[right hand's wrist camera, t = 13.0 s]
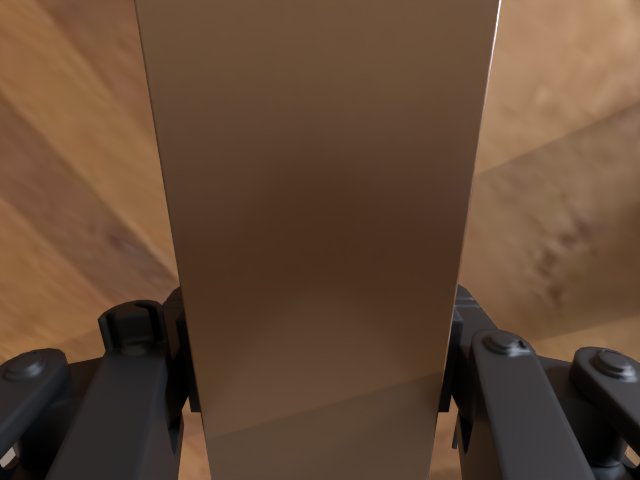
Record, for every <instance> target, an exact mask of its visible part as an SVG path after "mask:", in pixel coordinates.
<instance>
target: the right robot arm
mask: <svg viewBox="0 0 640 480" xmlns="http://www.w3.org/2000/svg"><path fill="white" fill-rule="evenodd" d="M98 323H99V327H100V331H101V334H102V338H103V342H104V346H105V350H106V351H105V353H104V355H103V357H100V358H96V359H91V360H87V361H82V362H77V363H72V364H68V363H67V359H66V356H65V353H63V352H62V351H61V350H59V349H52V348H47V349H38V350H32V351H30V352H25V353H22V354H20V355H19V356H17V357H15V358H12V359H10V360H8V361H6V362H5V363H3V364H2V365H0V460H1V458H2V457H3V456H4V455H5V454H6V453H7V452H8V451H9V449H10V448H11V447H13V449H14V452H15V454H16V456H15V457H14V458H13V459H12V460H11V461H10V463H8V464H7V465H6V466H5V467H4V468H3V467H2V466H1V464H0V480H178V473H179V465H180V456H181V448H182V439H183V431H184V421H183V415H182V409H183V406H184V404H185V402H186V400H187V397H188V396H189V402H190V408H191V412H201V411H200V405H199V399H198V392H197V386H196V380H195V374H194V368H193V362H192V355H191V349H190V343H189V337H188V331H187V325H186V318H185V312H184V306H183V300H182V294H181V287H178V288H177V289H175V290H174V291H173V292H172V293H171V294H170V296H169V297H168V298H167V301H165V302H164V303H163V304H162V305H161V304H160V303H158V302H157V301H152V300H135V301H130V302H126V303H123V304H120V305H117V306H115V307H112V308H111V309H109V310H107V311H106V312H104V313H103V314H102V315H101V316H100V317H99V318H98ZM451 395H452V396H453V398H454V401H455V403H456V405H457V407H458V409H459V410H458V415H457V421H456V426H455V432H454V437H453V443H452V448H453V449H457V444H458V447H459V455H460V464H461V472H462V480H640V464H639V465H638V466H636V465H635V464H634V463H632V462H631V461H630V460H629V458H628V457H627V456H626V455H625V454H624V453H625V451H626V449H627V446H628V445H629V446H630V447H631V448H632V449H633V450H634V452H635V453H636V454H637V455H638V456H639V457H640V364H639V363H638V362H636V361H635V360H633V359H632V358H629V357H627V356H625V355H623V354H621V353H620V352H617V351H614V350H610V349H606V348H599V347H583V348H580V349H579V350H577V351H576V352H575V355H574V358H573V362H572V363H571V362H566V361H561V360H556V359H551V358H546V357H542V356H538V355H536V353H535V351H534V349H533V348H532V347H531V345H530V344H529V343H528V342H526V341H525V340H524V339H522V338H521V337H519V336H517V335H515V334H512V333H510V332H507V331H503V330H499V329H498V328H497V327H496V326H495V324H494V323H493V322H492V321H491V319H490V318H489V317H488V316H487V314H486V313H485V312H484V311H483V309H482V308H481V307H479V304H478V303H477V302H476V301H475V300H473V297H472V296H471V294H470V293H469V292H468V291H467V289H465V288H464V287H462V286H461V285H459V284H458V286H457V293H456V299H455V306H454V312H453V319H452V326H451V332H450V339H449V345H448V352H447V358H446V365H445V371H444V378H443V384H442V391H441V398H440V404H439V411H438V412H449V407H450V401H451Z"/></svg>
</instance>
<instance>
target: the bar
mask: <svg viewBox="0 0 640 480" xmlns="http://www.w3.org/2000/svg"><path fill="white" fill-rule="evenodd" d="M134 3H135V10H136V16H137V22H138V28H139V34H140V40H141V47H142V53H143V59H144V65H145V71H146V78H147V84H148V90H149V96H150V102H151V108H152V115H153V121H154V127H155V133H156V139H157V145H158V152H159V158H160V164H161V170H162V176H163V183H164V189H165V195H166V201H167V207H168V213H169V220H170V226H171V232H172V238H173V244H174V250H175V257H176V263H177V269H178V275H179V281H180V287H181V294H182V300H183V306H184V312H185V318H186V325H187V331H188V337H189V343H190V349H191V355H192V362H193V368H194V374H195V380H196V386H197V392H198V399H199V405H200V411H201V417H202V423H203V430H204V436H205V442H206V448H207V454H208V460H209V467H210V473H211V479H212V480H428V476H429V470H430V463H431V457H432V450H433V443H434V437H435V430H436V424H437V417H438V411H439V404H440V398H441V391H442V384H443V378H444V371H445V365H446V358H447V352H448V345H449V339H450V332H451V326H452V319H453V312H454V306H455V299H456V293H457V286H458V280H459V273H460V267H461V260H462V253H463V247H464V240H465V234H466V227H467V221H468V214H469V208H470V201H471V195H472V188H473V181H474V175H475V168H476V162H477V155H478V149H479V142H480V136H481V129H482V123H483V116H484V109H485V103H486V96H487V90H488V83H489V77H490V70H491V64H492V57H493V50H494V44H495V37H496V31H497V24H498V18H499V11H500V5H501V0H134Z"/></svg>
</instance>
